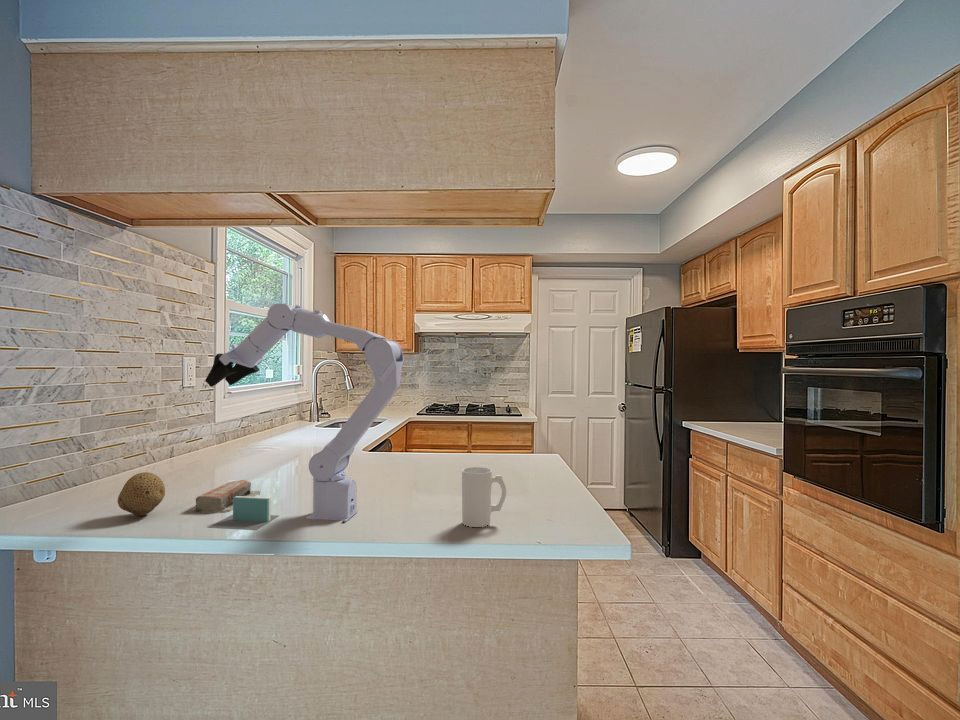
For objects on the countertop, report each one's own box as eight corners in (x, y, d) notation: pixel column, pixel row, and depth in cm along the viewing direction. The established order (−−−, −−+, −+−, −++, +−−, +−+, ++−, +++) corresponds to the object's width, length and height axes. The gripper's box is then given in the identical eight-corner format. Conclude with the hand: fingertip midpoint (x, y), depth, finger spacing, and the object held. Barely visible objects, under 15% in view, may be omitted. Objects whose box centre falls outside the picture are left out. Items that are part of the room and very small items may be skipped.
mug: (461, 528, 114) (461, 473, 114) (461, 519, 121) (461, 466, 121) (507, 528, 115) (507, 473, 115) (504, 518, 122) (505, 467, 122)
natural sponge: (171, 515, 121) (172, 472, 121) (127, 524, 115) (127, 479, 114) (157, 508, 127) (157, 466, 127) (113, 516, 120) (114, 472, 120)
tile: (270, 519, 117) (270, 497, 117) (267, 521, 116) (267, 499, 116) (236, 518, 118) (236, 496, 118) (232, 520, 117) (233, 497, 117)
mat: (279, 518, 120) (279, 515, 120) (256, 532, 110) (256, 529, 110) (234, 516, 122) (234, 513, 122) (207, 530, 112) (207, 527, 112)
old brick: (228, 496, 122) (185, 496, 122) (228, 517, 122) (185, 516, 122) (261, 478, 140) (223, 478, 140) (261, 496, 140) (223, 496, 140)
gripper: (263, 332, 131) (225, 369, 132) (229, 329, 117) (187, 371, 118) (281, 353, 131) (244, 390, 132) (249, 352, 116) (207, 394, 117)
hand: (218, 382), depth 125 cm, fingers open, 7 cm apart
